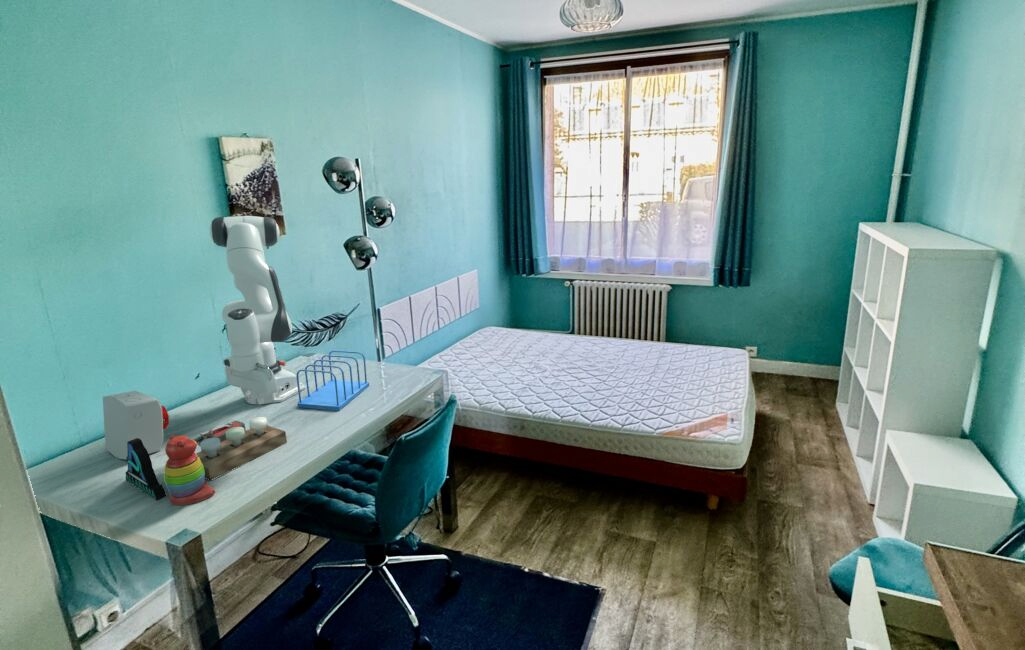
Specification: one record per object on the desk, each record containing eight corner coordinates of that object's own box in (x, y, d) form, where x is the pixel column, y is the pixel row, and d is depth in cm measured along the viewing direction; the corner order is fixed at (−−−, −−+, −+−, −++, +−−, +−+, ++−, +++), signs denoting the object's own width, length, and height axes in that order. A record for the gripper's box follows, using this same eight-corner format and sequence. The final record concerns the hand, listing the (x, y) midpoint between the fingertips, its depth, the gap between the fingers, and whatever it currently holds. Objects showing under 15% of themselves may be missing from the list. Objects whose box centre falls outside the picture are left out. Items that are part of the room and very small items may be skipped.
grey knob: (215, 451, 164) (213, 436, 163) (226, 455, 161) (223, 439, 160) (199, 459, 160) (196, 443, 158) (209, 463, 157) (206, 447, 156)
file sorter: (339, 411, 199) (335, 372, 195) (297, 408, 202) (292, 370, 198) (369, 386, 222) (366, 351, 218) (331, 383, 226) (327, 349, 222)
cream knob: (262, 430, 177) (259, 415, 176) (272, 433, 175) (270, 418, 173) (247, 436, 173) (245, 421, 172) (258, 440, 170) (255, 425, 169)
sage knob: (239, 440, 171) (237, 425, 169) (250, 444, 168) (247, 429, 167) (224, 447, 166) (221, 432, 165) (234, 451, 164) (232, 436, 162)
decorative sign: (126, 480, 156) (114, 434, 152) (135, 476, 158) (124, 430, 154) (157, 501, 145) (145, 451, 141) (166, 496, 147) (155, 447, 143)
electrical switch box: (179, 449, 177) (177, 391, 174) (129, 464, 164) (125, 401, 162) (155, 439, 184) (153, 383, 182) (105, 452, 172) (102, 392, 169)
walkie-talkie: (234, 425, 190) (177, 450, 173) (232, 413, 189) (175, 438, 172) (250, 430, 186) (194, 456, 169) (248, 418, 185) (191, 444, 168)
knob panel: (263, 434, 182) (261, 423, 181) (286, 442, 176) (285, 431, 175) (186, 470, 160) (184, 458, 159) (210, 480, 154) (208, 468, 153)
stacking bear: (217, 494, 148) (206, 436, 143) (177, 511, 141) (163, 450, 136) (203, 480, 155) (191, 424, 150) (163, 496, 148) (150, 437, 143)
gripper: (278, 363, 165) (284, 404, 168) (237, 353, 174) (244, 392, 178) (260, 369, 159) (267, 412, 163) (219, 359, 169) (226, 399, 173)
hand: (254, 402), depth 171 cm, fingers open, 4 cm apart
